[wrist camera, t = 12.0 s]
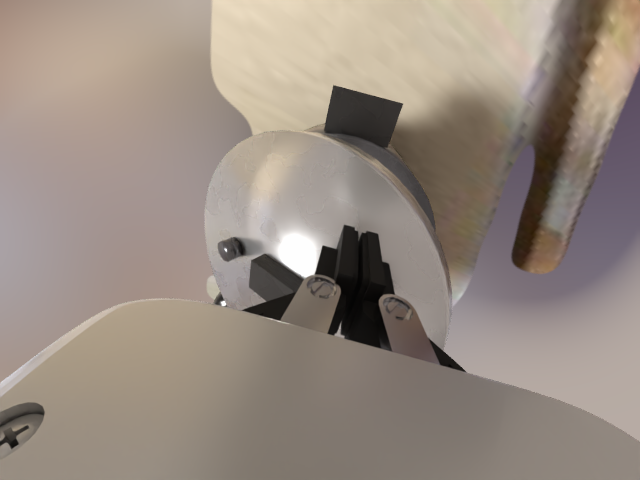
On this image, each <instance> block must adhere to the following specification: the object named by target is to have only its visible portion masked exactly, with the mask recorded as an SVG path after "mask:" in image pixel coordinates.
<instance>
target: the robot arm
mask: <svg viewBox="0 0 640 480" xmlns="http://www.w3.org/2000/svg"><path fill="white" fill-rule="evenodd" d="M340 324H341V332H340V334H341V335H343V336H344V338H340V337H337V336H334V335H335V333H337V331H338V329H339V326H340ZM0 480H640V442H639V441H638V440H636V439H635V438H633V437H632V436H630V435H628V434H627V433H625V432H624V431H622V430H621V429H619V428H617V427H615V426H614V425H612V424H610V423H608V422H607V421H605V420H603V419H601V418H599V417H597V416H595V415H593V414H591V413H589V412H587V411H584V410H582V409H580V408H578V407H575V406H572V405H570V404H567V403H565V402H562V401H560V400H557V399H554V398H551V397H548V396H544V395H541V394H538V393H535V392H532V391H529V390H526V389H522V388H519V387H515V386H512V385H509V384H505V383H501V382H498V381H494V380H491V379H487V378H483V377H480V376H477V375H473V374H469V373H467V372H466V371H465V370H464V369H463V368H462V367H460V366H459V365H458V364H457V363H456V362H455V361H454V360H453V359H451V357H449V356H448V355H447V354H446V353H445V352H444V351H443V350H442V349H441V348H439V347H438V346H437V345H436V344H435V343H434V342H433V341H432V340H431V339H429V338H428V337H427V334H426V332H425V330H424V328H423V325H422V323H421V321H420V319H419V316H418V314H417V312H416V310H415V309H414V307H413V306H412V305H411V304H410V303H409V302H408V301H407V300H405V299H404V298H402V297H399V296H397V295H395V292H394V287H393V281H392V276H391V271H390V265H389V263H386V262H382V255H381V248H380V241H379V235H378V234H377V233H374V232H370V231H366V233H361V236H360V238H359V241H358V231H355V227H352V226H348V225H344V226H343V229H342V232H341V235H340V238H339V242H338V245H337V248H336V249H335V248H331V247H327V246H324V245H323V246H322V249H321V253H320V257H319V260H318V264H317V268H316V271H315V275H310V276H308V277H306V278H305V279H304V281H303V282H302V284H301V286H300V287H299V289H298V291H297V292H294V293H291V294H288V295H285V296H282V297H279V298H276V299H273V300H270V301H267V302H264V303H261V304H258V305H255V306H252V307H249V308H246V309H244V310H237V309H233V308H229V307H224V306H220V305H216V304H211V303H207V302H201V301H195V300H186V299H173V298H166V299H165V298H164V299H144V300H137V301H131V302H126V303H123V304H120V305H116V306H114V307H112V308H109V309H107V310H105V311H103V312H101V313H99V314H97V315H95V316H93V317H92V318H90V319H88V320H87V321H85V322H83V323H82V324H80V325H79V326H77V327H76V328H74V329H73V330H72V331H70V332H68V333H67V334H65V335H64V336H62V337H61V338H60V339H58V340H57V341H55V342H54V343H53V344H51V345H50V346H49V347H47V348H46V349H44V350H43V351H41V352H40V353H39V354H37V356H35V357H33V358H32V359H31V360H30V361H28V362H27V363H26V364H24V365H23V366H22V367H20V368H19V369H18V370H17V371H15V372H14V373H12V374H11V375H10V376H8V377H7V378H6V379H5V380H3V381H2V382H1V383H0Z"/></svg>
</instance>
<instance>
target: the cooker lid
mask: <svg viewBox="0 0 640 480" xmlns="http://www.w3.org/2000/svg"><path fill="white" fill-rule="evenodd" d="M204 221H205V222H204V224H205V225H204V226H205V238H206V245H207V251H208V255H209V259H210V263H211V267H212V270H213V274H214V277H215V279H216V282H217V285H218V287H219V290H220V292H221V294H222V296H223V298H224V301H225V303H226V304H227V306H228V307H229V308H233V309H237V310H244V309H246V308H249V307H252V306H255V305H258V304H261V303H264V302H267V301H270V300H273V299H276V298H279V297H282V296H285V295H288V294H291V293H294V292H297V291H298V289H299V287H300V286H301V284H302V282H303V281H304V279H305V278H306V277H308V276H310V275H315V271H316V268H317V264H318V260H319V257H320V253H321V249H322V246H323V245H324V246H327V247H331V248H335V249H336V248H337V245H338V242H339V238H340V235H341V232H342V229H343V226H344V225H348V226H352V227H355V231H358V241H359V238H360V236H361V233H366V231H370V232H374V233H377V234H378V235H379V241H380V248H381V255H382V262H386V263H389V265H390V271H391V276H392V281H393V287H394V292H395V295H397V296H399V297H402V298H404V299H405V300H407V301H408V302H409V303H410V304H411V305H412V306H413V307H414V309H415V310H416V312H417V314H418V316H419V319H420V321H421V323H422V325H423V328H424V330H425V332H426V334H427V337H428V338H429V339H431V340H432V341H433V342H434V343H435V344H436V345H437V346H438V347H439V348H441V349H442V350H444V347H445V344H446V340H447V337H448V332H449V327H450V322H451V316H452V288H451V282H450V275H449V269H448V265H447V262H446V259H445V256H444V253H443V250H442V246H441V243H440V241H439V239H438V237H437V235H436V233H435V231H434V229H433V227H432V224H431V222H430V220H429V218H428V217H427V215H426V214H425V212H424V211H423V209H422V208H421V206H420V205H419V203H418V202H417V200H416V199H415V197H414V196H413V195H412V194H411V193H410V191H409V190H408V189H407V188H406V187H405V186H404V185H403V183H402V182H401V181H400V180H399V179H398V178H397V177H396V176H395V175H394V174H393V173H392V172H391V171H390V170H388V169H387V168H386V167H385V166H384V165H383V164H382V163H380V162H379V161H378V160H377V159H375V158H374V157H372V156H371V155H369V154H368V153H366V152H364V151H363V150H361V149H360V148H358V147H357V146H354V145H352V144H350V143H348V142H345V141H343V140H341V139H339V138H336V137H332V136H329V135H325V134H321V133H317V132H305V131H283V130H281V131H271V132H264V133H261V134H257V135H254V136H251V137H249V138H247V139H245V140H244V141H242V142H240V143H239V144H237V145H236V146H235V147H234V148H233V149H231V150H230V151H229V152H228V153H227V154H226V155H225V157H224V158H223V159H222V161H221V162H220V163H219V165H218V167H217V169H216V171H215V172H214V174H213V177H212V179H211V182H210V185H209V188H208V193H207V197H206V204H205V218H204ZM340 332H341V324H340V326H339V329H338V331H337V333H335V335H334V336H337V337H340V338H344V336H343V335H341V334H340Z"/></svg>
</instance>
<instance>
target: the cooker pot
mask: <svg viewBox="0 0 640 480" xmlns="http://www.w3.org/2000/svg"><path fill="white" fill-rule="evenodd" d="M402 105H403V104H402V103H398V102H395V101H391V100H387V99H383V98H380V97H376V96H372V95H368V94H364V93H361V92H357V91H353V90H349V89H346V88H342V87H338V86H334V85H333V90H332V95H331V99H330V104H329V109H328V113H327V118H326V123H325V124H321V125H317V126H314V127H312V128H309V129H307V130H305V132H317V133H321V134H325V135H329V136H332V137H336V138H339V139H341V140H343V141H345V142H348V143H350V144H352V145H354V146H357V147H358V148H360V149H361V150H363V151H364V152H366V153H368V154H369V155H371V156H372V157H374V158H375V159H377V160H378V161H379V162H380V163H382V164H383V165H384V166H385V167H386V168H387V169H388V170H390V171H391V172H392V173H393V174H394V175H395V176H396V177H397V178H398V179H399V180H400V181H401V182H402V183H403V185H404V186H405V187H406V188H407V189H408V190H409V191H410V193H411V194H412V195H413V196H414V197H415V199H416V200H417V202H418V203H419V205H420V206H421V208H422V209H423V211H424V212H425V214H426V215H427V217H428V218H429V220H430V222H431V224H432V227H433V229H434V231H435V221H434V216H433V211H432V209H431V206H430V203H429V200H428V198H427V196H426V194H425V192H424V191H423V189H422V187H421V185H420V184H419V182H418V181H417V180H416V178H415V177H414V175H413V174H412V172H411V171H410V170H409V168H408V167H407V165H406V164H405V162H404V161H403V160H402V158H401V157H400V155H399V154H398V153H397V151H396V150H395V149H394V147H393V146H392V145H391V144H390V143H389V142H390V139H391V136H392V133H393V131H394V128H395V125H396V122H397V119H398V117H399V114H400V111H401V108H402Z"/></svg>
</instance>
